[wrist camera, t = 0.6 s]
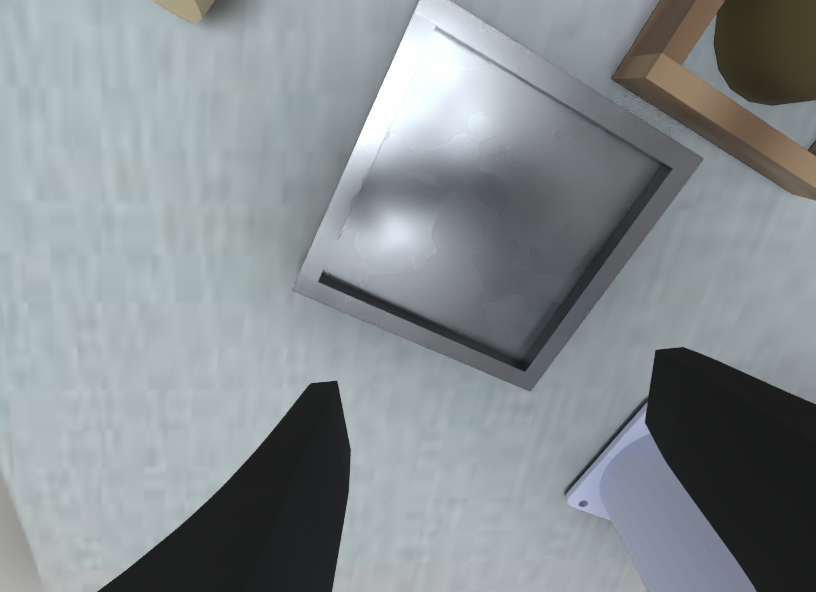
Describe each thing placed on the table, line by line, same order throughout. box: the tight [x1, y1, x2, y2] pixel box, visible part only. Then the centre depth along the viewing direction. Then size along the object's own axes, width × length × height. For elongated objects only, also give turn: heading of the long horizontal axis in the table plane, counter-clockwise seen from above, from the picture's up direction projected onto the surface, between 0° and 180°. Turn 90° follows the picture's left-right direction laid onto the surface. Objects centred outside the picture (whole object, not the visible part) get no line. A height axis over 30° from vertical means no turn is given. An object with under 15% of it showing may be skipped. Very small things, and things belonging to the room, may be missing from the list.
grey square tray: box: [292, 0, 704, 391], centre depth 18 cm, size 12×12×2 cm
